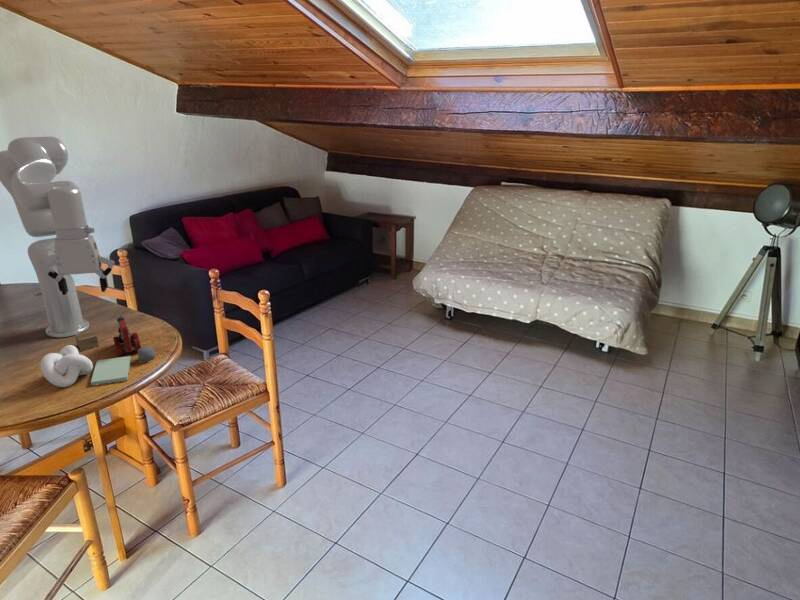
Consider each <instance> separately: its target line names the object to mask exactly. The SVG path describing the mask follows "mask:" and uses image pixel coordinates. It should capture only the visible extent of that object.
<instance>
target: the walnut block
mask: <svg viewBox="0 0 800 600" xmlns="http://www.w3.org/2000/svg"><path fill="white" fill-rule="evenodd" d="M74 337H75V341H76V345H77V347H78V350H79V351H80V352H84V351H88V350H91V349H95V347H96V348H99V347H100V345H99V342H98V341H99V340H98V336H97V334H96V333H95V332H94V330H88V331H84V332H82V333H79V334H76V335H74ZM87 349H88V350H87Z"/></svg>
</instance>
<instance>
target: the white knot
mask: <svg viewBox="0 0 800 600" xmlns="http://www.w3.org/2000/svg"><path fill="white" fill-rule="evenodd" d="M93 366H94V365H93V362H92V361H91V359H89V358H88V357H87V356H85V355H83V354H80V352H79V348H77V347H76V346H74V345H72V344H69V345H66V346H63V347H62V348H61V349H60V351H59V352H49V353H48V354H47V353H46V354H45V355H44V356H43V357H42V359H41V361H40V371H41V372H42V375H43V377H44V378H45V380H47V381H48V382H49V383H50V384H51V385H54V386H56V387H60V388H66V387H70V386H72V385H73V384H75V383H76V381H77V380H78V378H79V376H86V375H87V374H89V373H91V372H92V371H93V368H94V367H93Z"/></svg>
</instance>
